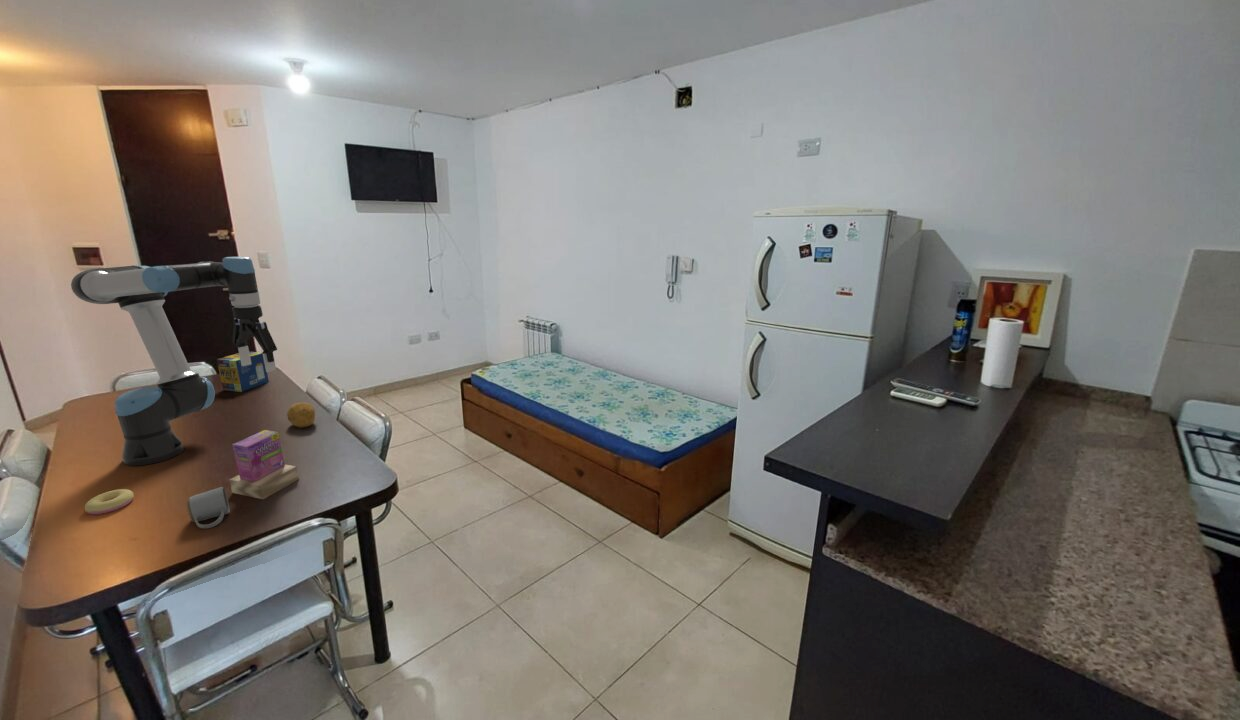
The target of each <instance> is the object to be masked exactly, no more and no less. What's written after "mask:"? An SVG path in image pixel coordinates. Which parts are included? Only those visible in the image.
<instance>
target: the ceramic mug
mask: <svg viewBox="0 0 1240 720" xmlns="http://www.w3.org/2000/svg"><path fill="white" fill-rule="evenodd" d="M186 508H187V509H186V510H187V514H188V516H189V519H190V521H192V522H194V523H195V524H196V526H197V527H198V528H199V529H203V530H204V529H210V528H214V527H216V526H217V525H219V524H220V523H221V522H222V521H223V519H224V516H225V515H228V514H229V513H230V503H229V499H228V496H227V493H226V490H225V488H224V487H223V486H220V487H217V488H214V489H210V490H207V491H204V492H201V493H197V494H195V495H192V496H190V497H188V498H187V499H186ZM212 518H217V519H216V520H215V521H213V522H211V523H209V524H201V523H199V522H202V521H205V520H209V519H212Z"/></svg>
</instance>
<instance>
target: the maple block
mask: <svg viewBox="0 0 1240 720" xmlns="http://www.w3.org/2000/svg"><path fill="white" fill-rule="evenodd" d="M297 468H298V467H297V466H296V465H290V464H285V465H284V466H282V467H281V468H279V469H277V470H275V471H273V472H271V473H270V474H268V475H266V476H264V477H262V478H260V479H258V480H257V481H255V482H253V481H247V480H243V479H240V476H239V474H238V475H235V476H233V477H232V478H230V479H228V480H229V484H230V489H231V493H232V494H235V495H236V494H237V495H241V496H246V497H251V498H255V499H260V500H264V499H266V498H268V497H269V496H271V495H273V494H275V493H277V492H278V491H280V490H283V489H284V488H286V487H288V486H289V485H291V484H293V483H295V482H296V481H298V480H299V479H300V477H299V474H298V469H297Z"/></svg>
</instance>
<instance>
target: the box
mask: <svg viewBox="0 0 1240 720" xmlns="http://www.w3.org/2000/svg"><path fill="white" fill-rule="evenodd" d="M279 435H280V434H279V432H278V431H272V430H268V429H264V430H261V431H259V432H257V433H255V434H252V435H250V436H248V437H246V438H244V439H241V440H239V441H236V442H235V443H232V444H231V446H232V449H233V453H234V458H235V461H236V467H237V471H238V475H239V476H240V479H243V480H247V481H253V482H255V481H257V480H258V479H260V478H262V477H264V476H266V475H268V474H270V473H271V472H273V471H275V470H277V469H279V468H281V467H282V466H284V465H286V464H285V460H284V455H283V449H282V445H281V440H280V436H279Z"/></svg>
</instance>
